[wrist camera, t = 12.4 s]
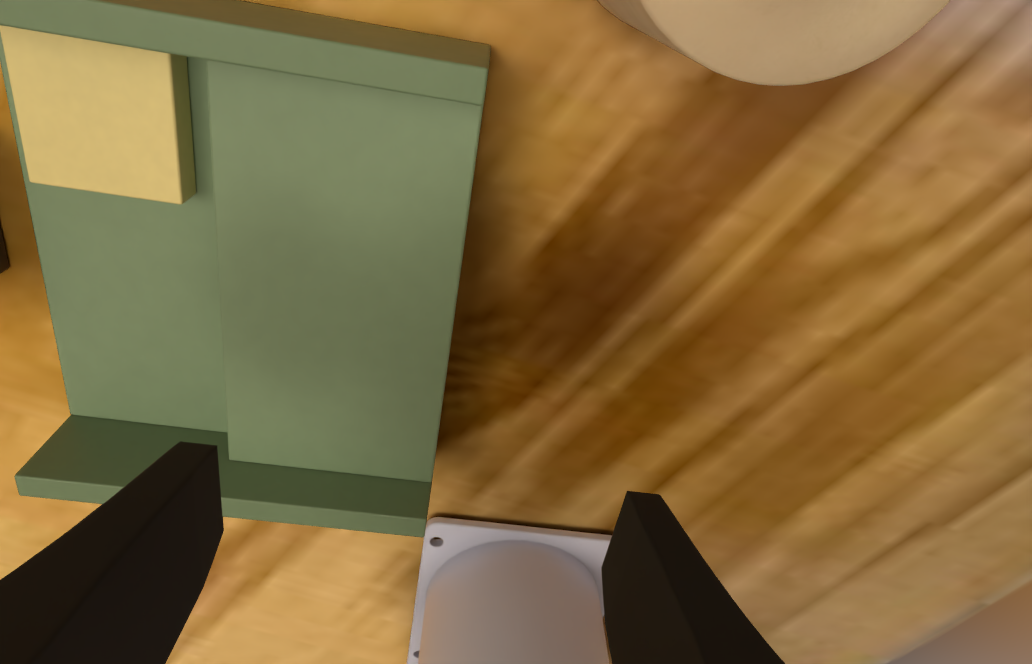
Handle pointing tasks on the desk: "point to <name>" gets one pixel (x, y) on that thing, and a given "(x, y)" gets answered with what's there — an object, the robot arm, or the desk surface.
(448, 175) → the shelf
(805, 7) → the candle
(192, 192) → the note pad
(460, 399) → the desk surface
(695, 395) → the desk surface
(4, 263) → the holder
